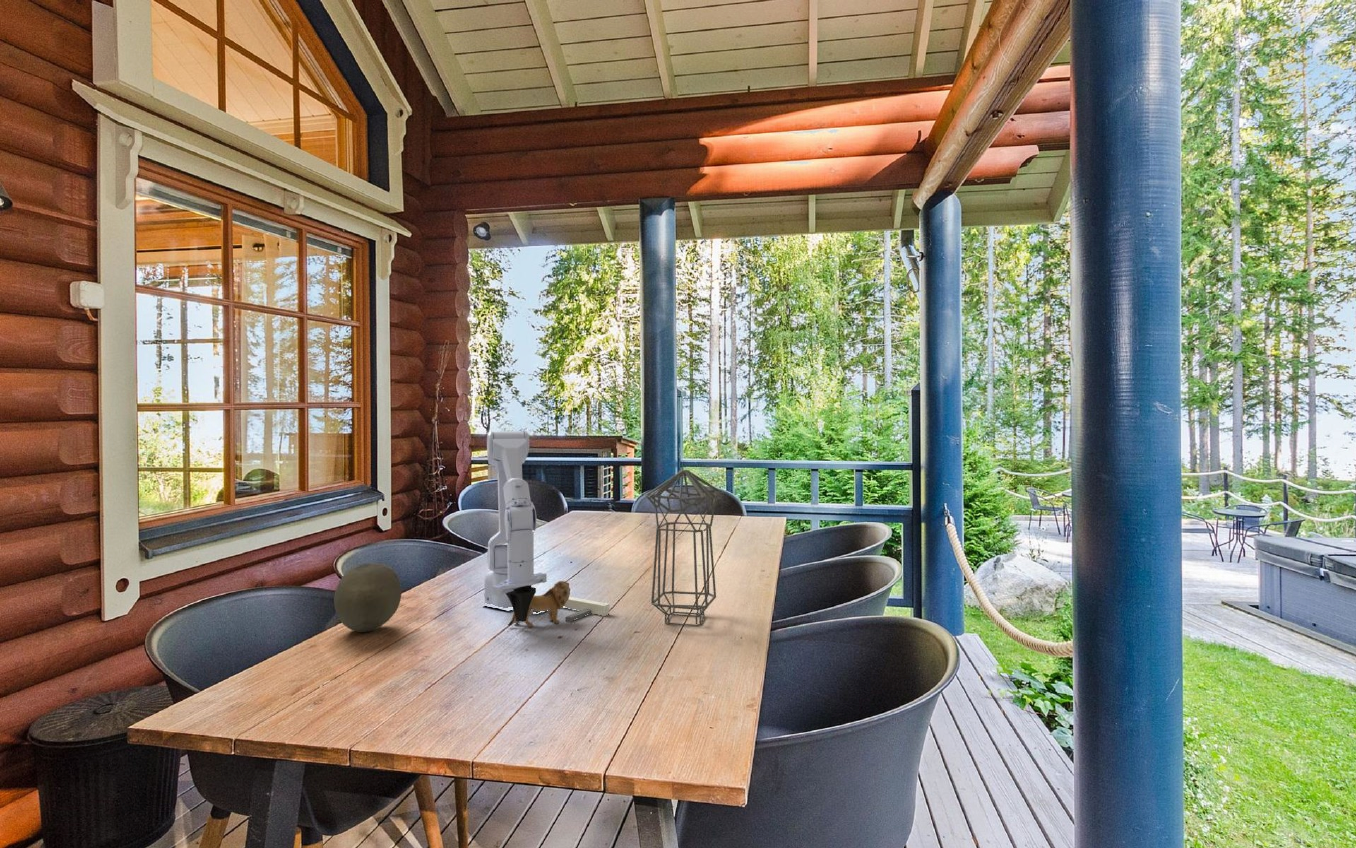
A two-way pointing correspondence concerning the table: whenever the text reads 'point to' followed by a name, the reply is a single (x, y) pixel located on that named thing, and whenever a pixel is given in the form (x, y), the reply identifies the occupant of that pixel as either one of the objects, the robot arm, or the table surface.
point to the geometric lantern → (701, 498)
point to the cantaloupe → (367, 596)
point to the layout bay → (585, 608)
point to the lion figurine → (548, 602)
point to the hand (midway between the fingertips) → (521, 620)
